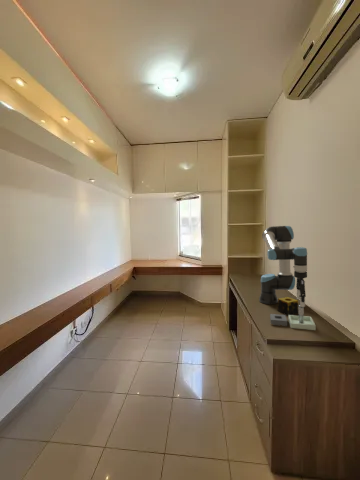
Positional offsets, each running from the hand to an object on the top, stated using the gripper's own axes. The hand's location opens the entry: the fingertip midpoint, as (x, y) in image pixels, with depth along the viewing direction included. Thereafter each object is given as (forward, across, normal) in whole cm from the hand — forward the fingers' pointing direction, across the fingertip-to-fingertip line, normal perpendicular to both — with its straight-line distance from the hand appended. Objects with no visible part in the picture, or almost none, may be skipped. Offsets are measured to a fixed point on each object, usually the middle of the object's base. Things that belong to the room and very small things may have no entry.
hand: (300, 302), depth 150 cm
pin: (+14, +1, 0) cm, 14 cm away
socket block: (+15, +1, -14) cm, 20 cm away
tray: (+14, +1, 0) cm, 15 cm away
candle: (+15, -19, -6) cm, 25 cm away
